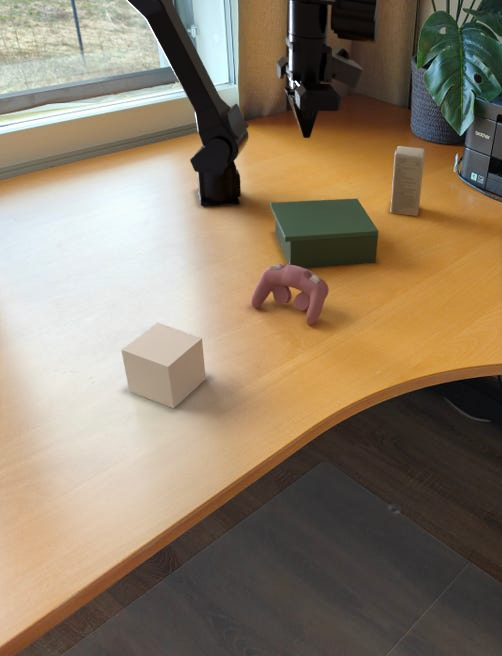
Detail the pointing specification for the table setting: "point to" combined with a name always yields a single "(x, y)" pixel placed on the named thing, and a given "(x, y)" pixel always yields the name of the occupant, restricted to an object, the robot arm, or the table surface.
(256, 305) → the video game controller
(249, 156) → the table surface
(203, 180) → the robot arm
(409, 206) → the box
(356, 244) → the toy chest
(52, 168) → the table surface
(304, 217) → the lid
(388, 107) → the table surface
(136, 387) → the beige cube block
